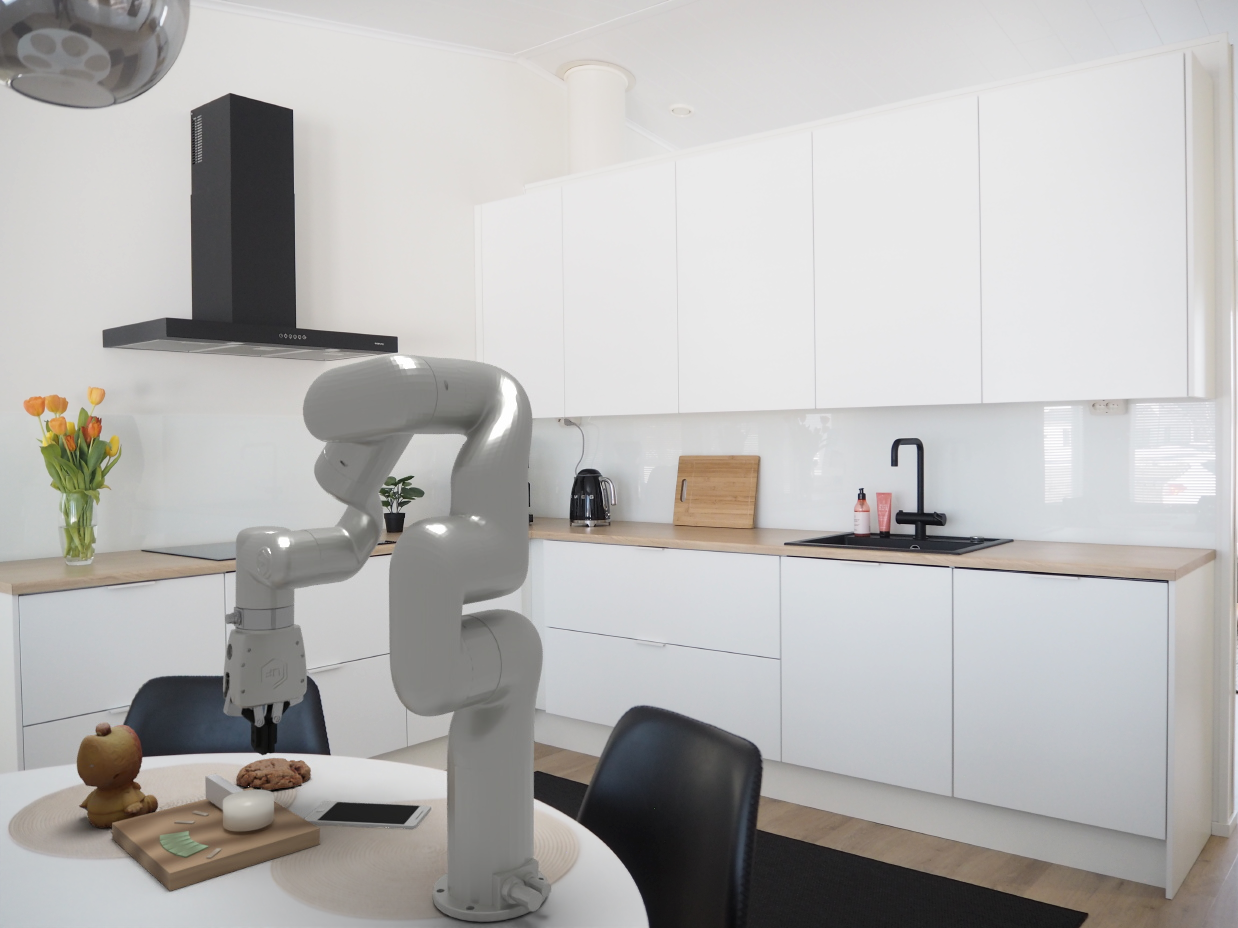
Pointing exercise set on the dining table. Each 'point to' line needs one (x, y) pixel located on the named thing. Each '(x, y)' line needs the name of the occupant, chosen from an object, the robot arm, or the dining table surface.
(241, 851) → the tuner board
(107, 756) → the figurine
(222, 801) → the peg dial
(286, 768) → the cookie
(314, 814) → the smartphone
